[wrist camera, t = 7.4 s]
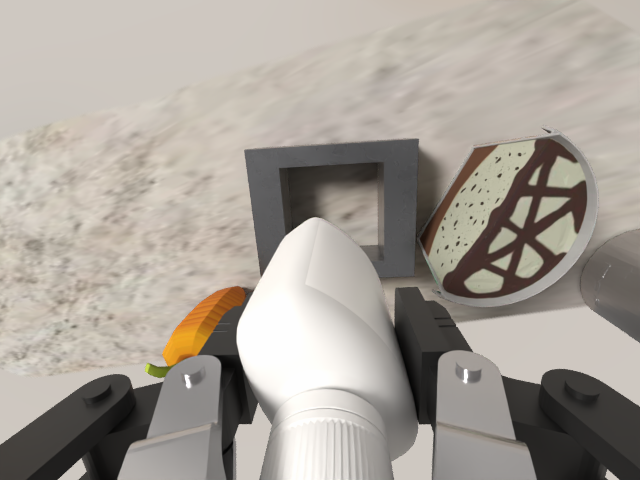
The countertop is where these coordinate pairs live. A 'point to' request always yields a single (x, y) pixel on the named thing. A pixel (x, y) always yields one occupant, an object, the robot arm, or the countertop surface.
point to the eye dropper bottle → (326, 361)
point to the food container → (511, 220)
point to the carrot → (197, 328)
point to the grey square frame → (391, 155)
